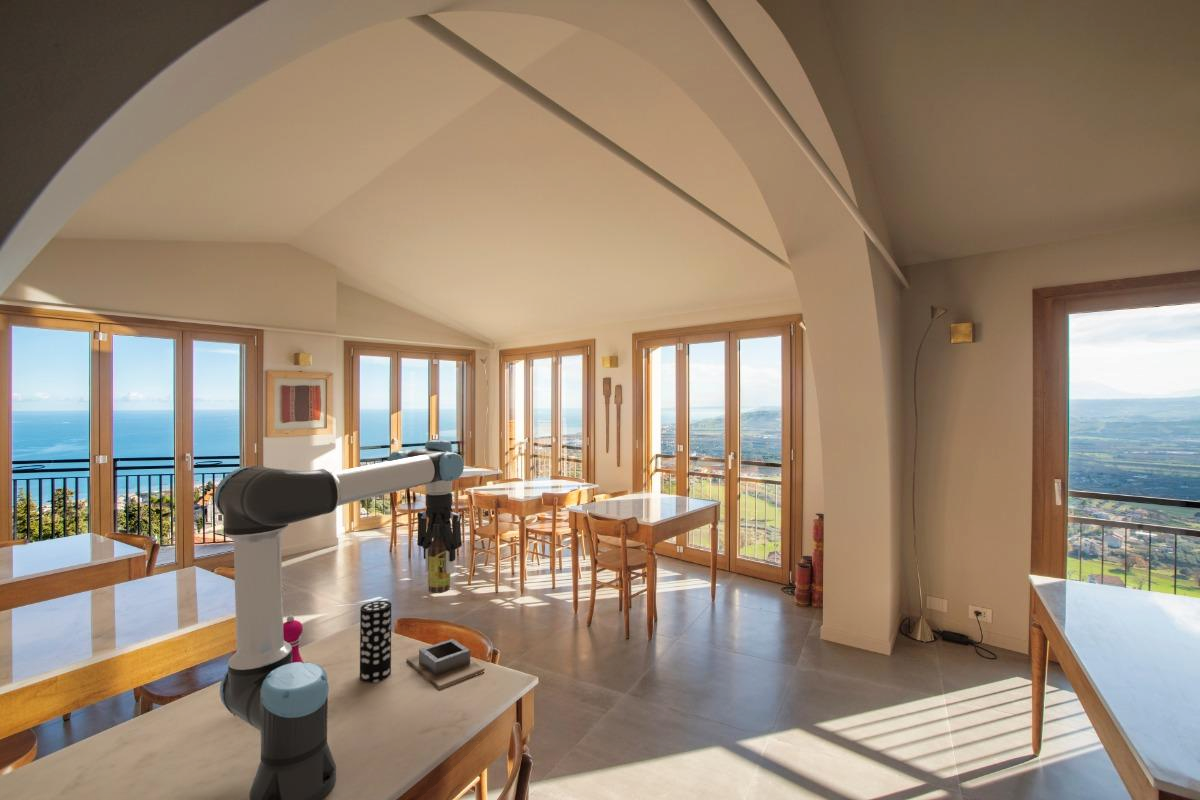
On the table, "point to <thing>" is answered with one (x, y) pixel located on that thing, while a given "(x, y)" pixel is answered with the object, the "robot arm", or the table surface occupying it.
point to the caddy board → (448, 677)
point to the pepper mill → (293, 636)
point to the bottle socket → (444, 657)
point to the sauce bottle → (438, 562)
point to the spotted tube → (375, 641)
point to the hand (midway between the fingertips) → (439, 570)
